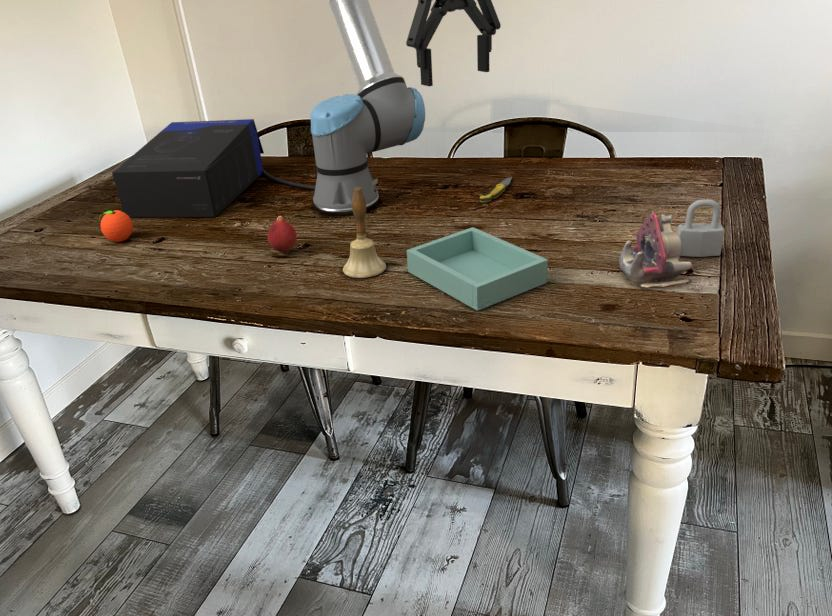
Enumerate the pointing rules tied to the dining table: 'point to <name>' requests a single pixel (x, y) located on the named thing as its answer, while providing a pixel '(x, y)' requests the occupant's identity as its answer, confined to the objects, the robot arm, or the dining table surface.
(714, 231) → the padlock
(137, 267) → the dining table surface
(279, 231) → the onion
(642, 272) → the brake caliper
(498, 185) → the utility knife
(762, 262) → the dining table surface
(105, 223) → the clementine
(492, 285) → the open box
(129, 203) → the headphone box
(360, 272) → the hand bell
